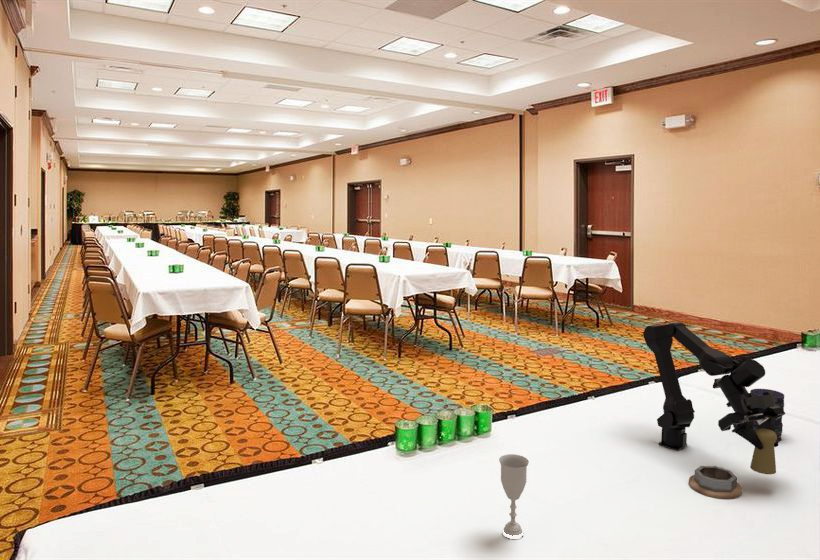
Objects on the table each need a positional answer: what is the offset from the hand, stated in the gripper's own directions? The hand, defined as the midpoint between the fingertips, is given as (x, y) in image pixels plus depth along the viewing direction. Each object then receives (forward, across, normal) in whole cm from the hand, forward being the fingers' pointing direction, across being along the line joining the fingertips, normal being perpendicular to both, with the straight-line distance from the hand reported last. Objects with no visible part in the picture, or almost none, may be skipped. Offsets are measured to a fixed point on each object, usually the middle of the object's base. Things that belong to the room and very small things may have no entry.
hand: (769, 447), depth 159 cm
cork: (+4, 0, +6) cm, 7 cm away
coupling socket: (+4, -11, +13) cm, 18 cm away
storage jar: (-11, +33, +29) cm, 46 cm away
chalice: (+5, -74, +12) cm, 75 cm away
